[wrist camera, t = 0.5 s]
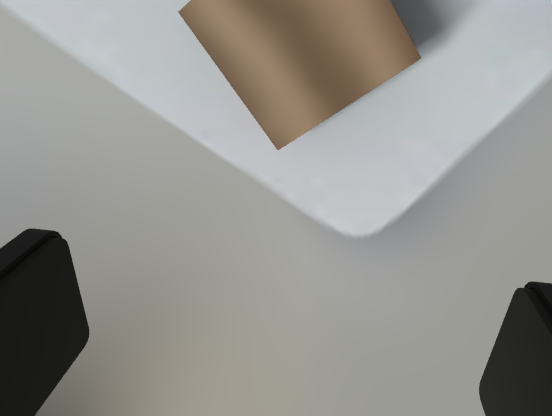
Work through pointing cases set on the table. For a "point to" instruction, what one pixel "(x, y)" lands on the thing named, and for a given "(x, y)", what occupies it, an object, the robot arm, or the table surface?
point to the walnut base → (301, 55)
